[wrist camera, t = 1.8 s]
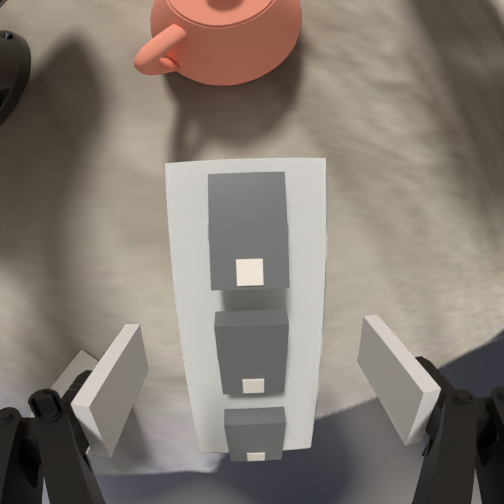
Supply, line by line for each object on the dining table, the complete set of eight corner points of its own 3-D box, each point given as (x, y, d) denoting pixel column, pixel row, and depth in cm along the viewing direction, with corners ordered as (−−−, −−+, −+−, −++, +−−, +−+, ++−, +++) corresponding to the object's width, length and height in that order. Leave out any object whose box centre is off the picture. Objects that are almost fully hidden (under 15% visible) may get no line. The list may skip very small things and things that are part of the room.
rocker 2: (222, 405, 30) (221, 426, 28) (285, 402, 30) (288, 423, 28) (229, 444, 34) (228, 462, 32) (281, 442, 34) (283, 460, 32)
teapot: (246, -51, 26) (249, -112, 14) (343, 12, 29) (380, -42, 17) (118, 61, 29) (70, 21, 17) (215, 136, 32) (200, 115, 20)
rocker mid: (213, 308, 27) (211, 327, 25) (287, 305, 27) (292, 324, 25) (221, 375, 32) (220, 395, 29) (283, 373, 32) (286, 392, 29)
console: (178, 165, 32) (162, 162, 26) (316, 161, 33) (335, 157, 26) (204, 422, 40) (199, 457, 34) (307, 417, 41) (316, 452, 34)
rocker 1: (208, 181, 27) (205, 173, 24) (283, 178, 27) (287, 171, 24) (211, 287, 27) (208, 290, 24) (288, 284, 27) (292, 287, 24)
